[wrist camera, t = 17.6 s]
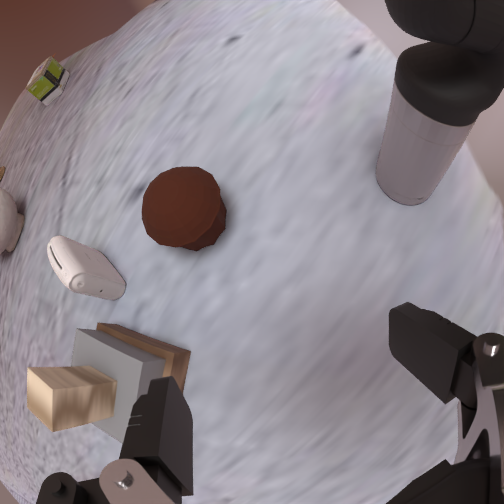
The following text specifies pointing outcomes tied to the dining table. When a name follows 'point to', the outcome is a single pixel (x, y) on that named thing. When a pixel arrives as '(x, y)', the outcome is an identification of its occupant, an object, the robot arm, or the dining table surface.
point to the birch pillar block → (70, 395)
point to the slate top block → (117, 373)
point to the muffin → (184, 209)
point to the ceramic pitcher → (9, 222)
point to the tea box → (48, 81)
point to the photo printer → (84, 269)
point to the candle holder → (2, 172)
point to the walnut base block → (154, 350)
